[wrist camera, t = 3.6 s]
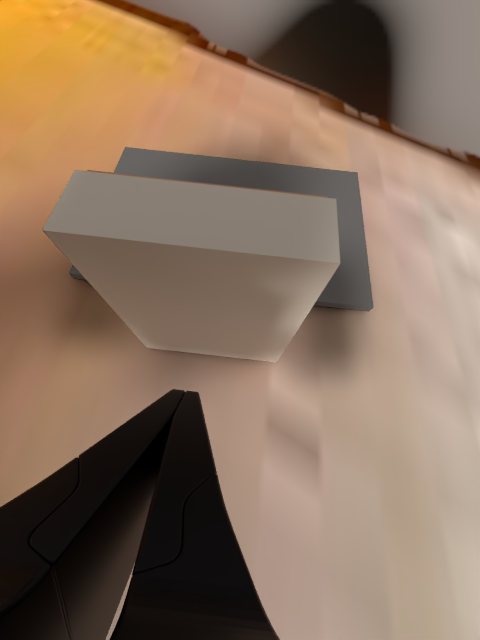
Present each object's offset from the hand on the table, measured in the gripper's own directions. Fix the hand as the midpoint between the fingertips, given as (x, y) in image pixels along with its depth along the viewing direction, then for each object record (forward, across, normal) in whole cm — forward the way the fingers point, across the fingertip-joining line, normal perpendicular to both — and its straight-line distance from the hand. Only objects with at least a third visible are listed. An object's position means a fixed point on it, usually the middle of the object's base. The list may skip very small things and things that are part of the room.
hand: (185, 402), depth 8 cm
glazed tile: (+8, 0, +2) cm, 8 cm away
